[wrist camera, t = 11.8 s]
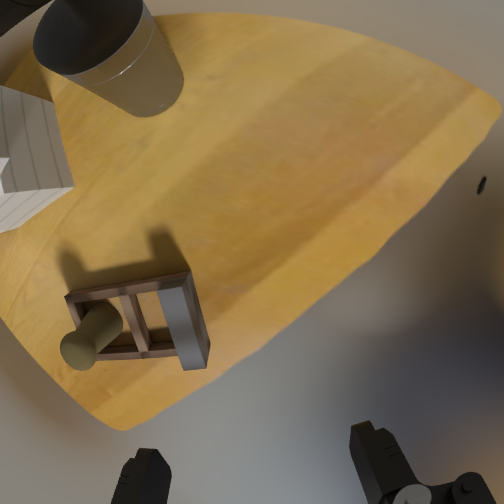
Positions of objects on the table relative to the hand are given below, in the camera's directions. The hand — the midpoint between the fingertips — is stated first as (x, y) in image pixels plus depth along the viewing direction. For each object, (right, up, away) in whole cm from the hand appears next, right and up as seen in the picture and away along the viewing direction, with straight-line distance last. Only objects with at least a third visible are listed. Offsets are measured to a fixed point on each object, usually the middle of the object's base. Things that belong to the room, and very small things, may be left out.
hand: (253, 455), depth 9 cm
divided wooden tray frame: (-17, -1, +29) cm, 33 cm away
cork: (-22, -2, +29) cm, 36 cm away
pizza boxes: (-39, +19, +23) cm, 50 cm away
